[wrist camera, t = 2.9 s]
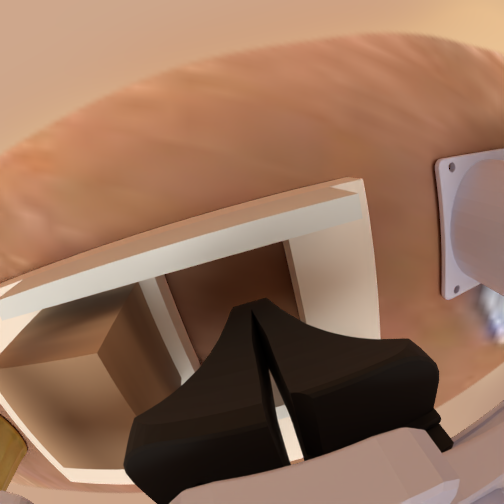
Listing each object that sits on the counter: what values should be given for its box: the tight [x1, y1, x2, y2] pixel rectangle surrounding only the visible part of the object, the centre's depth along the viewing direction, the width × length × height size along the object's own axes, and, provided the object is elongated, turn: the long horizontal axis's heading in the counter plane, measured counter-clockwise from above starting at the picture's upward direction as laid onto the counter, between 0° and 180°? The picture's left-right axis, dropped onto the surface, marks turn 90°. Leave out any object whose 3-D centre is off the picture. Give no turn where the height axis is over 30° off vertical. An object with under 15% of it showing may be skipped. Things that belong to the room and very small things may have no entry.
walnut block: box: [0, 282, 182, 470], centre depth 9 cm, size 5×5×5 cm
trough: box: [0, 187, 362, 420], centre depth 11 cm, size 14×8×2 cm, turn 104°
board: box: [0, 177, 380, 484], centre depth 14 cm, size 23×16×2 cm
